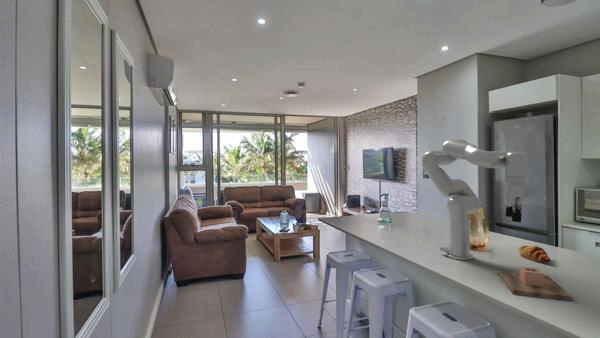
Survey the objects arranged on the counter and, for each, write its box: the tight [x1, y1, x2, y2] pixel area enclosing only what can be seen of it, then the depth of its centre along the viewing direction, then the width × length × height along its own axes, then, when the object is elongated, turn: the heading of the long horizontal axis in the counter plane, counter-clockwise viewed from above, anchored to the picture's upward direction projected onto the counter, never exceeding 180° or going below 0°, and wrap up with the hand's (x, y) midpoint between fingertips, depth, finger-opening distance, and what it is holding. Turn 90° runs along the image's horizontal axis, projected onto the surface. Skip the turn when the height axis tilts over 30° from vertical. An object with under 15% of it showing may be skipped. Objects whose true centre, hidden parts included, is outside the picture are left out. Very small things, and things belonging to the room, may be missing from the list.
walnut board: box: [497, 270, 574, 301], centre depth 118 cm, size 18×20×2 cm
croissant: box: [518, 245, 551, 264], centre depth 151 cm, size 21×10×8 cm, turn 175°
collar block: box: [518, 266, 544, 286], centre depth 118 cm, size 6×6×5 cm
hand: (513, 219), depth 130 cm, fingers open, 9 cm apart
